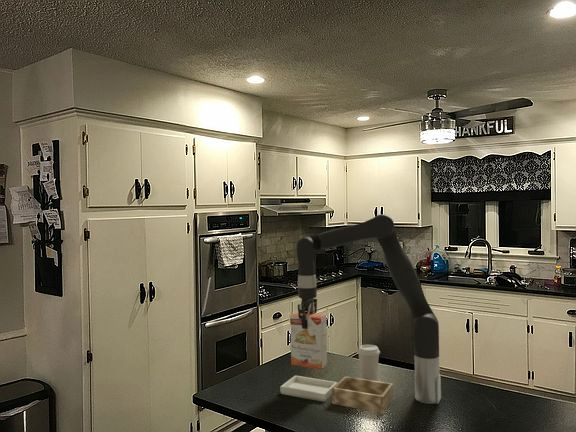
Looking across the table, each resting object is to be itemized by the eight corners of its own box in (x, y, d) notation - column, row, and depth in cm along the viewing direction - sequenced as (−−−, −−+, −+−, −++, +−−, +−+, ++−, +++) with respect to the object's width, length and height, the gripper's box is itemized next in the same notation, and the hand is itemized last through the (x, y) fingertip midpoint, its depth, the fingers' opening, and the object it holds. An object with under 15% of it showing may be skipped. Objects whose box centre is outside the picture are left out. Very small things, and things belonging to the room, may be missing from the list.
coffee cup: (379, 378, 207) (378, 344, 207) (381, 386, 197) (381, 350, 197) (357, 377, 208) (356, 344, 208) (358, 386, 198) (357, 350, 198)
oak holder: (393, 398, 185) (393, 383, 185) (383, 413, 172) (383, 396, 172) (345, 390, 194) (345, 376, 194) (332, 403, 182) (332, 388, 181)
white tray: (337, 389, 195) (337, 382, 195) (324, 402, 183) (324, 394, 183) (295, 382, 204) (295, 375, 204) (280, 393, 192) (280, 386, 192)
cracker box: (290, 365, 194) (289, 314, 194) (297, 361, 199) (295, 311, 199) (321, 370, 188) (320, 317, 187) (327, 365, 193) (326, 314, 193)
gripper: (308, 289, 185) (309, 332, 185) (322, 283, 197) (323, 323, 198) (290, 288, 188) (292, 330, 189) (306, 282, 201) (307, 321, 201)
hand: (308, 326), depth 193 cm, fingers closed on cracker box, 6 cm apart
